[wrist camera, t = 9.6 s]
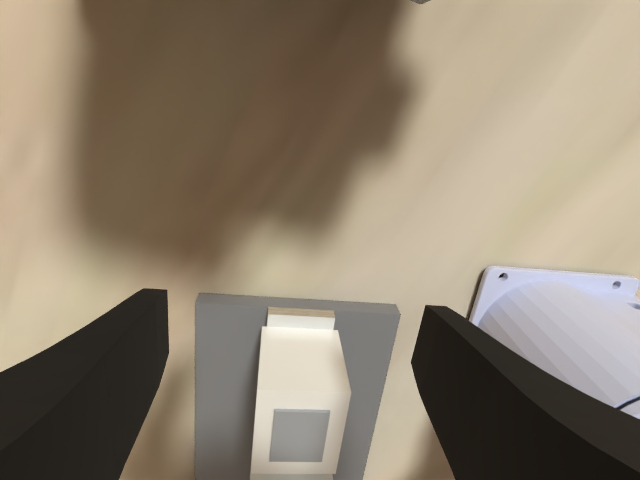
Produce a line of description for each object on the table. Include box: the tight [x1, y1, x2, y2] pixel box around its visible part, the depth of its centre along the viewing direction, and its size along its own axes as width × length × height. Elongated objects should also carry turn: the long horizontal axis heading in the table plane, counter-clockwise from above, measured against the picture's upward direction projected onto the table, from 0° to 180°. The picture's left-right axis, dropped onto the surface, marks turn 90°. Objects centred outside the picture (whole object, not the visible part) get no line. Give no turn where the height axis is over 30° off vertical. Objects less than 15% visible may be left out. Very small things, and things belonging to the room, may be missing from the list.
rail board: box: [195, 293, 401, 480], centre depth 23 cm, size 11×18×6 cm, turn 173°
